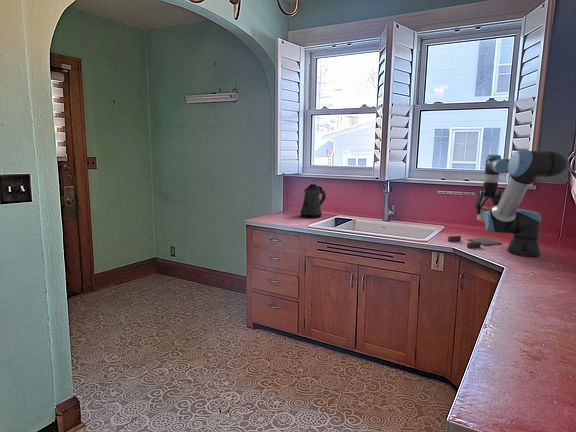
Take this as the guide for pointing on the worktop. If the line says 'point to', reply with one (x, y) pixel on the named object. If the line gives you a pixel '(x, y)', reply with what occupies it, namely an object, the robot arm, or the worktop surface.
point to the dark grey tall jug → (312, 202)
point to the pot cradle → (469, 245)
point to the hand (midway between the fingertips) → (486, 219)
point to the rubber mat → (485, 241)
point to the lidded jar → (485, 211)
